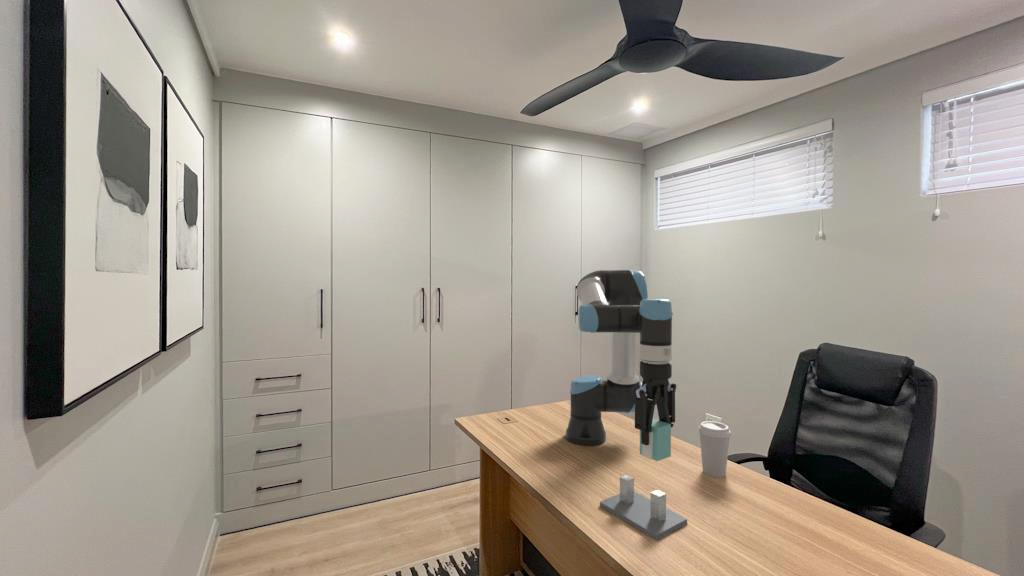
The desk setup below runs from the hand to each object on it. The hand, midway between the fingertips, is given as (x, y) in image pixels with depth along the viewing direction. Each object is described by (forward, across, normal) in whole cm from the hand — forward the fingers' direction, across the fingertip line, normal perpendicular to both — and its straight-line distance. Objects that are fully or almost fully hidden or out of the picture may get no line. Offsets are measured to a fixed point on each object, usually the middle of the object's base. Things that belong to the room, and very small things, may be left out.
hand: (655, 454), depth 106 cm
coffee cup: (+17, +38, +8) cm, 43 cm away
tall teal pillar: (0, 0, 0) cm, 0 cm away
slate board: (+17, 0, +4) cm, 18 cm away
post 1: (+16, 0, +9) cm, 19 cm away
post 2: (+16, 0, -1) cm, 16 cm away
